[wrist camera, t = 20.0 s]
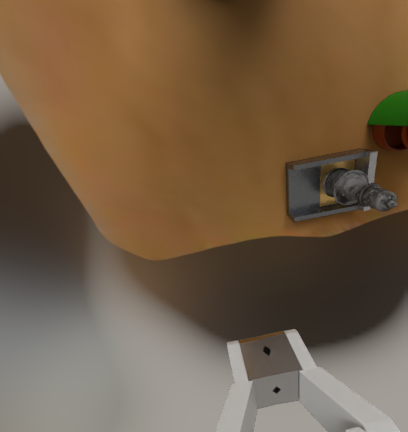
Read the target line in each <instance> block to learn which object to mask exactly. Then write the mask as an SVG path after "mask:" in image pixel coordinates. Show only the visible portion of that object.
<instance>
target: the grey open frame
mask: <svg viewBox="0 0 408 432" xmlns="http://www.w3.org/2000/svg"><path fill="white" fill-rule="evenodd" d="M377 154H378V151H372V150H365V149H355V150H350V151H344V152H339V153H334V154H329V155H324V156H318V157H313V158H308V159H303V160H298V161H292V162H287V163H286V191H287V216H288V217H290V218H291V219H292V220H293V221H294V222H296V221H301V220H306V219H311V218H316V217H321V216H327V215H332V214H337V213H342V212H347V211H352V210H357V209H360V210H362V211H367V210H370V206H368V207H363V206H361V205H359V204H358V202H356V203H354V204H351V205H342V204H339V203H338V202H337V201H336V200H335V198H334V197H330V196H328V195H326V194H325V192H324V191H323V182H324V179H325V177H326V176H327V175H328V173H329V172H331V171H332V170H334V169H336V168H345V169H348V170H349V171H351V170H360V171H362V172H364V173H365V174H366V175H367V177H368V179H369V183H374V177H375V169H376V162H377Z"/></svg>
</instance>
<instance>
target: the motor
mask: <svg viewBox="0 0 408 432" xmlns="http://www.w3.org/2000/svg"><path fill="white" fill-rule="evenodd" d="M368 125H374V128H373V137H374V140H375V142H376V144H377V145H378V146H380V147H381V148H385V149H391V150H406V149H408V90H406V91H400V92H397V93H394V94H392V95H390V96H388V97H387V98H386V99H384V100H383V101H382V102H381V103H380V104H379V105H378V106H377V107H376V109H375V110H374V111H373V113H372V115H371V117H370V119H369V121H368ZM395 126H396V127H395Z"/></svg>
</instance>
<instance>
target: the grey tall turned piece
mask: <svg viewBox="0 0 408 432" xmlns="http://www.w3.org/2000/svg"><path fill="white" fill-rule="evenodd" d="M323 191H324V192H325V194H326V195H328V196H330V197H334V198H335V200H336V201H337V202H338V203H339V204H342V205H351V204H354V203H356V202H358V204H359V205H361V206H363V207H368V206H370V207H372V208H374V209H376V210H379V211H388V210H390V209H392V208H393V207H396V206H397V203H396V202H397V197H396V195H395V194H394V193H393V192H391V191H388V190H385V189H382V188H380V186H379V185H378V184H376V183H369V179H368V177H367V175H366V174H365V173H364V172H362V171H360V170H351V171H349V170H348V169H345V168H336V169H334V170H332V171H331V172H329V173H328V175H327V176H326V177H325V179H324V182H323Z"/></svg>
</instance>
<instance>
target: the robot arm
mask: <svg viewBox="0 0 408 432" xmlns="http://www.w3.org/2000/svg"><path fill="white" fill-rule="evenodd" d="M227 348H228V353H229V358H230V363H231V369H232V374H233V379H234V384H232V385H231V386H230V389H229V392H228V395H227V398H226V401H225V404H224V407H223V410H222V413H221V416H220V419H219V422H218V425H217V428H216V431H215V432H253V430H254V425H255V420H256V415H257V409H259V408H264V407H268V406H272V405H276V404H282V403H288V402H294V401H299V402H300V403H301V404H302V405H303V406H304V407H305V408H306V409H307V410H308V411H309V412H310V413H311V415H312V416H313V417H314V418H315V419H316V420H317V421H318V422H319V423H320V424H321V425H322V426H323V427H324V428H325V429H326V430H327V431H328V432H400V431H399V429H398V428H397V426H396V425H395V424H394V422H393V421H392V419H391V418H389V417H388V416H387V415H385V414H384V413H383V412H381V411H380V410H379V409H377V408H376V407H374V406H373V405H372V404H370V403H369V402H368V401H366V400H365V399H364V398H362V397H361V396H359V395H358V394H357V393H355V392H354V391H353V390H352V389H350V388H349V387H347V386H346V385H345V384H343V383H342V382H341V381H339V380H338V379H337V378H335V377H334V376H333V375H331V374H330V373H328V372H327V371H326V370H325V369H323V368H322V367H317V366H316V364H315V363H314V361H313V359H312V357H311V355H310V353H309V352H308V350H307V348H306V346H305V344H304V342H303V341H302V339H301V338H300V335H299V333H298V332H297V330H295V329H292V330H287V331H281V332H276V333H271V334H267V335H263V336H259V337H254V338H248V339H242V340H236V341H231V342H227Z"/></svg>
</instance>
